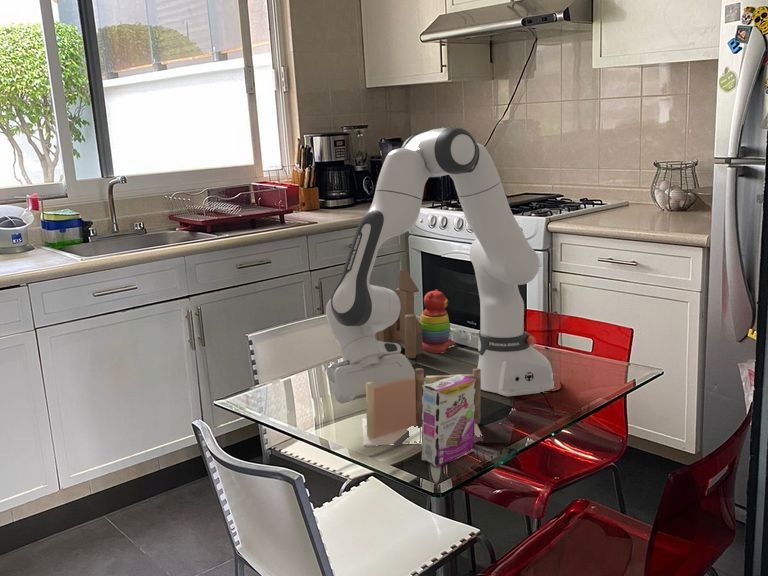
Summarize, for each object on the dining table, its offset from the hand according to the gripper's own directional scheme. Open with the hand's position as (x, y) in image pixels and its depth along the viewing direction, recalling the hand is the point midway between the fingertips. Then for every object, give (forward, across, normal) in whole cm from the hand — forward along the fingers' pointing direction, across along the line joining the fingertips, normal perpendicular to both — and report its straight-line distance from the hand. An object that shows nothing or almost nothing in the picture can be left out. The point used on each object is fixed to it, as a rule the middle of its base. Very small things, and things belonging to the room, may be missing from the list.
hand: (387, 410), depth 171 cm
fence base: (+7, +13, +1) cm, 15 cm away
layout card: (+6, +7, +1) cm, 9 cm away
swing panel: (+4, 0, +2) cm, 5 cm away
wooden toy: (-30, +37, +39) cm, 62 cm away
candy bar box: (+16, +3, -9) cm, 19 cm away
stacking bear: (-28, +48, +37) cm, 67 cm away
